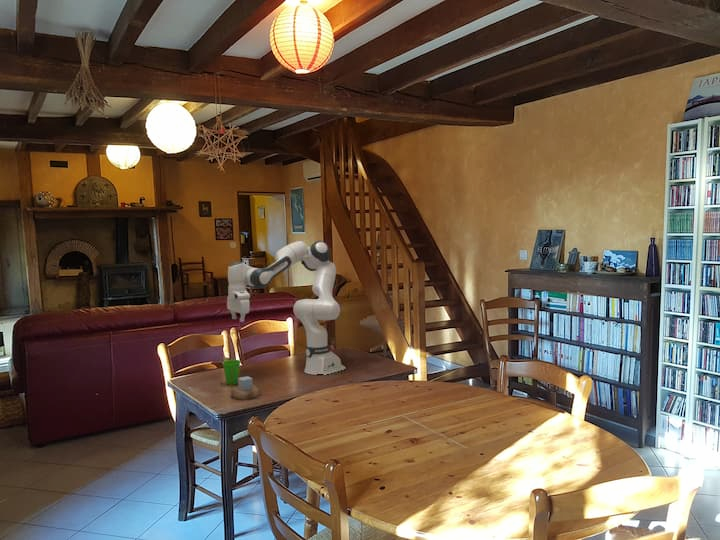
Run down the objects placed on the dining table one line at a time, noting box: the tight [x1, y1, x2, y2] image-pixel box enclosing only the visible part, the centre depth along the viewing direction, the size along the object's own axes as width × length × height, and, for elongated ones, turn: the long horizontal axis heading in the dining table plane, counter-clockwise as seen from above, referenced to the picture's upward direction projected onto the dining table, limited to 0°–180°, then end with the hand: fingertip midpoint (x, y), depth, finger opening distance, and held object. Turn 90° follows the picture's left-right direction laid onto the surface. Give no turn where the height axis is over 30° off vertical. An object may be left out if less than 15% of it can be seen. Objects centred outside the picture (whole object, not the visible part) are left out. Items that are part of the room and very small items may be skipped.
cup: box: [222, 359, 242, 386], centre depth 253 cm, size 9×9×11 cm
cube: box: [237, 375, 254, 391], centre depth 235 cm, size 5×5×5 cm
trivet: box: [230, 384, 261, 401], centre depth 235 cm, size 13×13×3 cm
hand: (238, 320), depth 262 cm, fingers open, 8 cm apart
